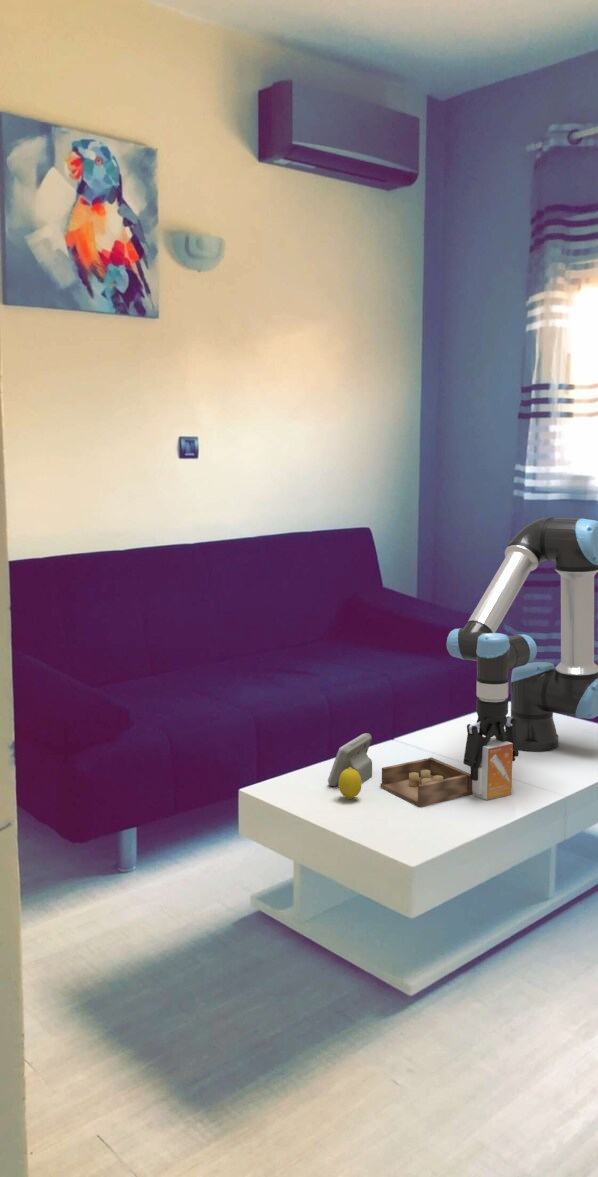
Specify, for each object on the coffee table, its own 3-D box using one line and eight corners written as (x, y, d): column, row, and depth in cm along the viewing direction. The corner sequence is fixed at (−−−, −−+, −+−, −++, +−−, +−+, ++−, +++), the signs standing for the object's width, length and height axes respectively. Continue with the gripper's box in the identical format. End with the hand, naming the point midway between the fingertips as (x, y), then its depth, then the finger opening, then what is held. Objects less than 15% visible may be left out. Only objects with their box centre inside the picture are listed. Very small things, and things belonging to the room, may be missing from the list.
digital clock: (356, 768, 256) (356, 729, 255) (384, 775, 250) (384, 735, 249) (317, 784, 244) (317, 743, 243) (345, 792, 238) (345, 750, 237)
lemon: (364, 796, 235) (364, 765, 234) (358, 804, 230) (357, 772, 228) (342, 794, 236) (342, 762, 235) (335, 802, 231) (335, 770, 230)
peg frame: (431, 776, 249) (431, 757, 248) (472, 794, 235) (472, 774, 235) (380, 787, 241) (380, 768, 240) (419, 807, 227) (419, 786, 227)
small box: (487, 801, 231) (488, 748, 229) (469, 793, 236) (470, 741, 234) (512, 794, 235) (513, 742, 233) (494, 787, 240) (495, 736, 238)
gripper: (514, 689, 241) (512, 777, 244) (448, 700, 230) (447, 792, 233) (535, 695, 234) (533, 785, 237) (468, 707, 224) (467, 802, 227)
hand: (490, 789), depth 235 cm, fingers closed on small box, 8 cm apart
